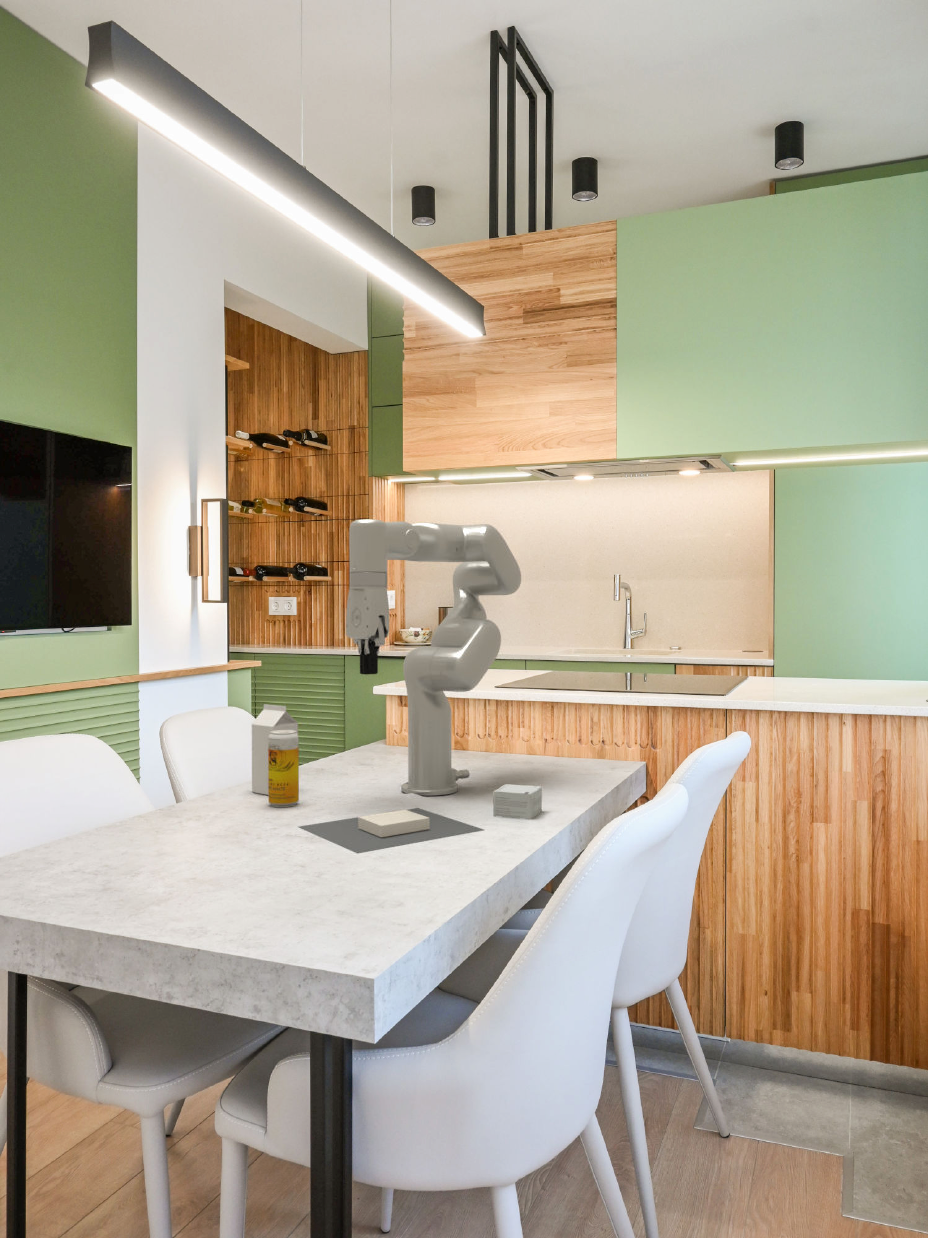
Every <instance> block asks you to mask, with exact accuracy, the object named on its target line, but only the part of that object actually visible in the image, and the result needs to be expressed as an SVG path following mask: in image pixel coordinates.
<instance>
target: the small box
mask: <svg viewBox="0 0 928 1238" xmlns="http://www.w3.org/2000/svg"><path fill="white" fill-rule="evenodd" d="M492 793H493V807H492V808H493V814H492V815H493V817H496V816H502V817H501V818H508V817H511V819H512V818H513V819H520V818H525V819H524V820H532V819H533V818H535V817H536V816H537V815H538V814H540V813H541V812H543V811H542V810H543V809H542V805H543V804H542V803H543V796H542V795H543V789H542V786H538V785H525V784H524V785H523V784H510V783H509V784H508V783H506V784H503V785H502V786H500V787H499V788H497V789H495V790H493V792H492ZM534 816H535V817H534Z"/></svg>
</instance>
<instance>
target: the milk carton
mask: <svg viewBox="0 0 928 1238" xmlns="http://www.w3.org/2000/svg"><path fill="white" fill-rule="evenodd" d="M275 730H295V731H297V735H298V736H299V724H298V721H297V720H296V719H295V718H293V717H292V716H291V715H290V713H289V712H288V711H287V705H286V706H285V705H276V704H267V703H266V704H265V703H264V704H263V710H261V712H260V713H259V714H258V715H257V717H256V718H254V720H253V722H252V723H251V792H252V793H255V794H256V793H257V794H262V795H268V737H269V735H270V732H271V731H275Z"/></svg>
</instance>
